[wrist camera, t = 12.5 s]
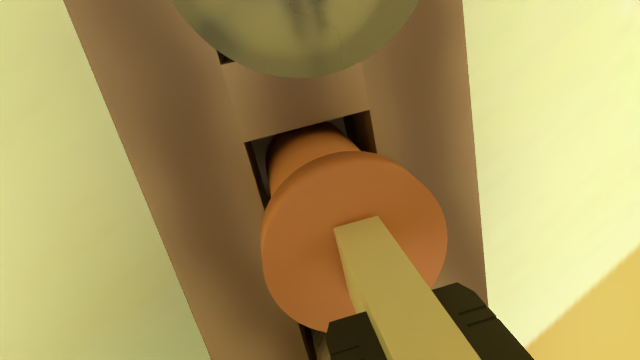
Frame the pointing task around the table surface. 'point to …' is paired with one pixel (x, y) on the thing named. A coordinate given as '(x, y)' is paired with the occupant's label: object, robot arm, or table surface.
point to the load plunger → (337, 219)
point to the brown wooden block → (252, 143)
